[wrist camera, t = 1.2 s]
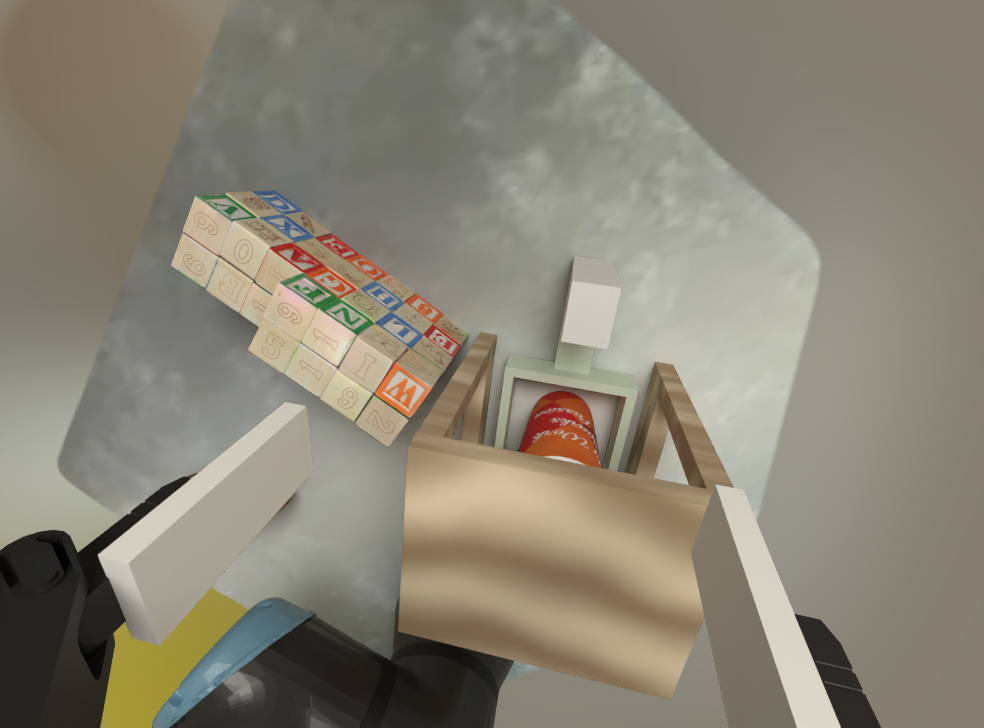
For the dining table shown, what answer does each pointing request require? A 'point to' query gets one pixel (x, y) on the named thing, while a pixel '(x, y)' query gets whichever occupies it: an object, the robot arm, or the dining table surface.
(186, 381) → the dining table surface
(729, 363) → the dining table surface
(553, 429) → the paper cup
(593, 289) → the collar
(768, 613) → the robot arm
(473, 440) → the oak tunnel
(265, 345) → the stack of blocks
